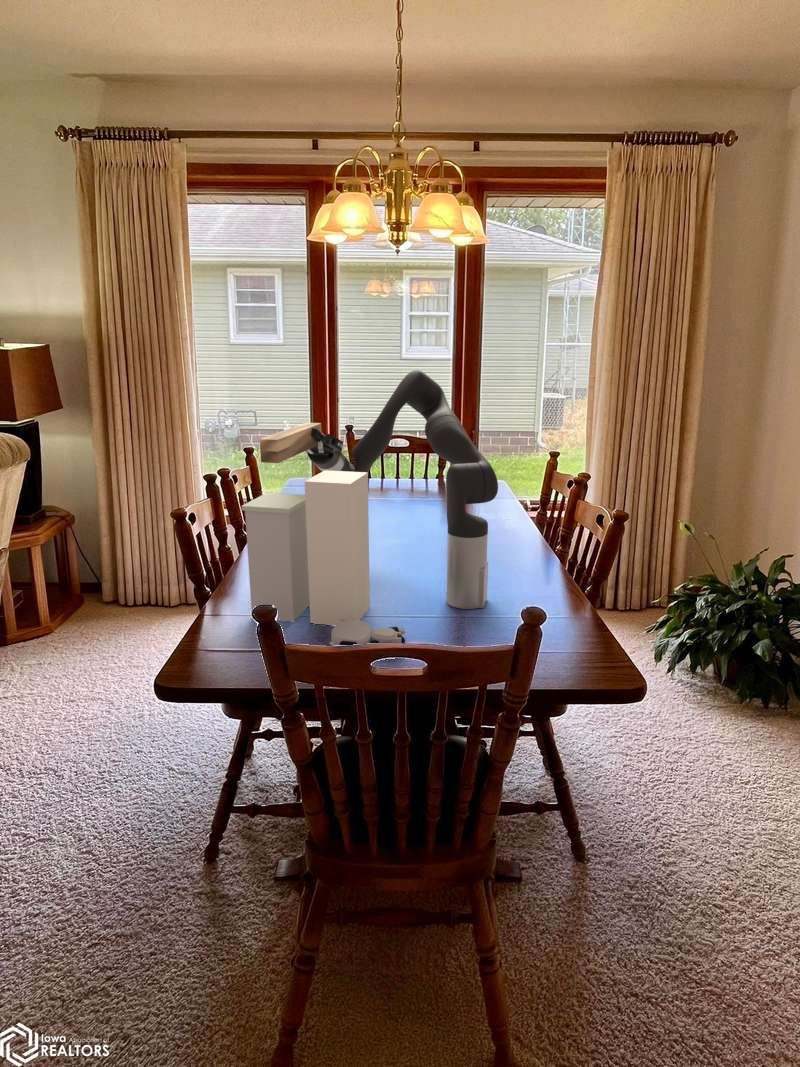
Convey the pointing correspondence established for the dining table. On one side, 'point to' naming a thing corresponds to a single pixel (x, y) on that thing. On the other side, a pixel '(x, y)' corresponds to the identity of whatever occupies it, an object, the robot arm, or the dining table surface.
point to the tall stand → (337, 546)
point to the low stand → (278, 553)
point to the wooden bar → (288, 443)
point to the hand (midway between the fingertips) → (303, 431)
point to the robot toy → (364, 633)
